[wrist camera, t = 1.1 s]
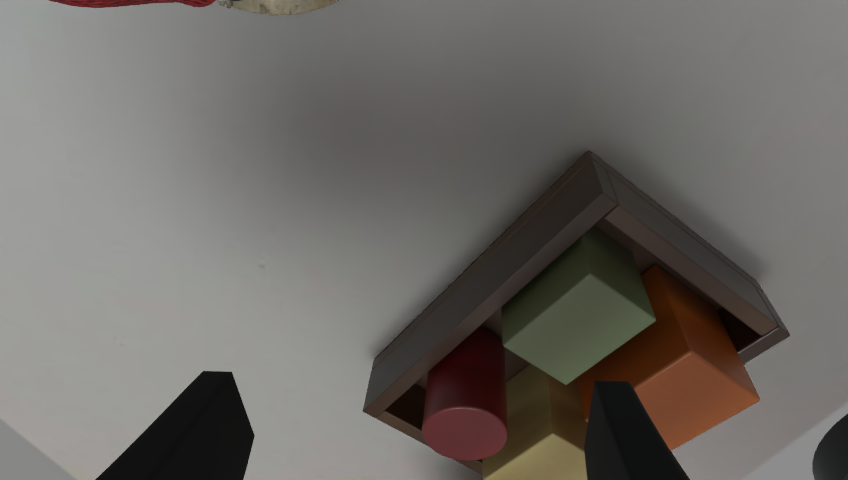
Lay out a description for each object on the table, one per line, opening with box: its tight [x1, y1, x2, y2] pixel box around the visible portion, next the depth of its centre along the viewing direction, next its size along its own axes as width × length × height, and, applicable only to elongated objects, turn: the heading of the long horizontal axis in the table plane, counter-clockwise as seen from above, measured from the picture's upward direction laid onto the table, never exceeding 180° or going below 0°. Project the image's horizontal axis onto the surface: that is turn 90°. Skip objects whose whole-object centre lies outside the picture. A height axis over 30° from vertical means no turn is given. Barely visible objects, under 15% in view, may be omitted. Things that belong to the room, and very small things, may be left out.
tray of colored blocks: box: [363, 151, 790, 480], centre depth 20 cm, size 8×12×5 cm, turn 144°
